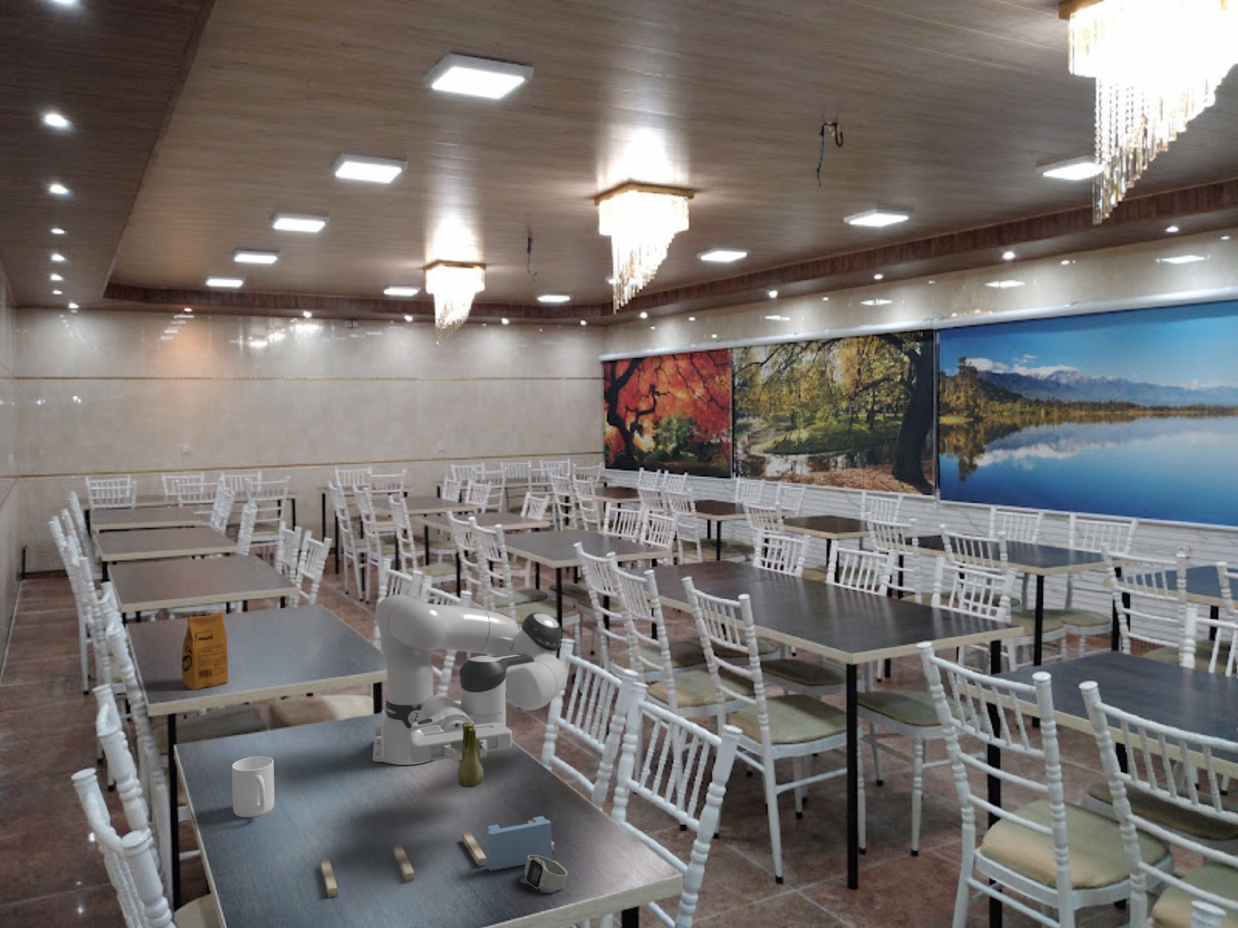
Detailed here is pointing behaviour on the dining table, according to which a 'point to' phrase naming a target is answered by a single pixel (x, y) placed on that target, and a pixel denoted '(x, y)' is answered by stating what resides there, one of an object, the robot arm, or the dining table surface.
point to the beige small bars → (406, 862)
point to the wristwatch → (545, 873)
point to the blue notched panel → (518, 843)
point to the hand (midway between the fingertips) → (471, 755)
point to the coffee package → (205, 652)
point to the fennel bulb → (469, 759)
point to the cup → (253, 786)
